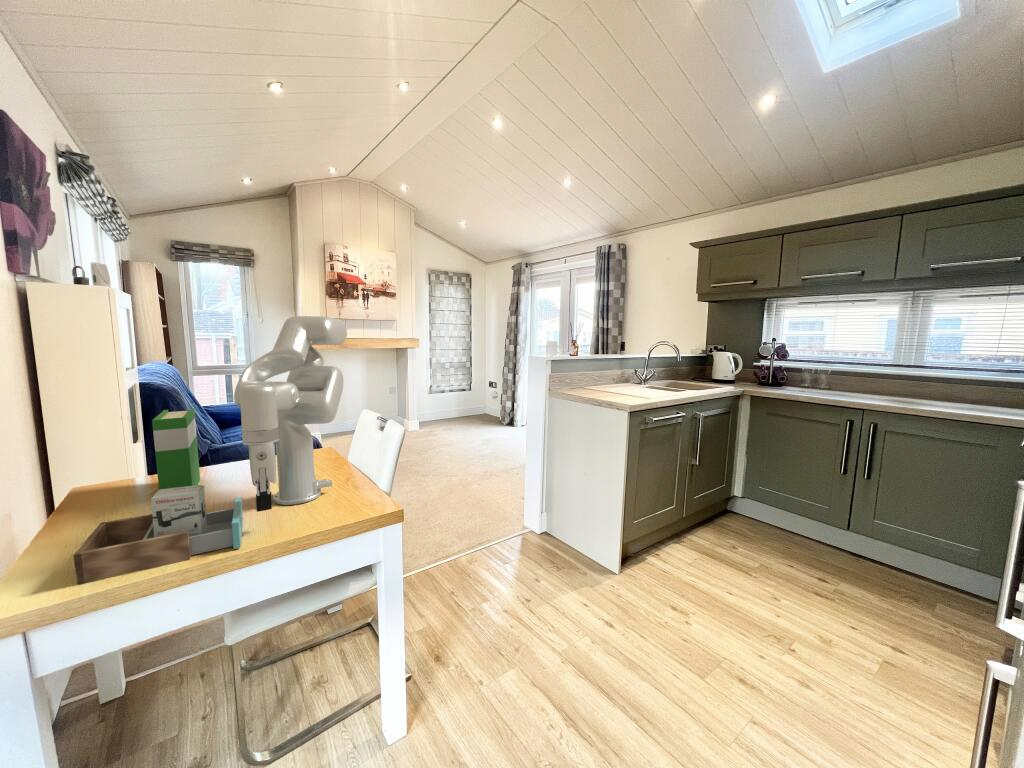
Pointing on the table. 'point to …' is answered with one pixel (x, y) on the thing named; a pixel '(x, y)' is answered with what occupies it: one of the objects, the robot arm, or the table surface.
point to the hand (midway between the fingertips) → (264, 509)
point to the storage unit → (127, 549)
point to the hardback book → (176, 449)
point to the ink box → (179, 511)
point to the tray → (216, 530)
